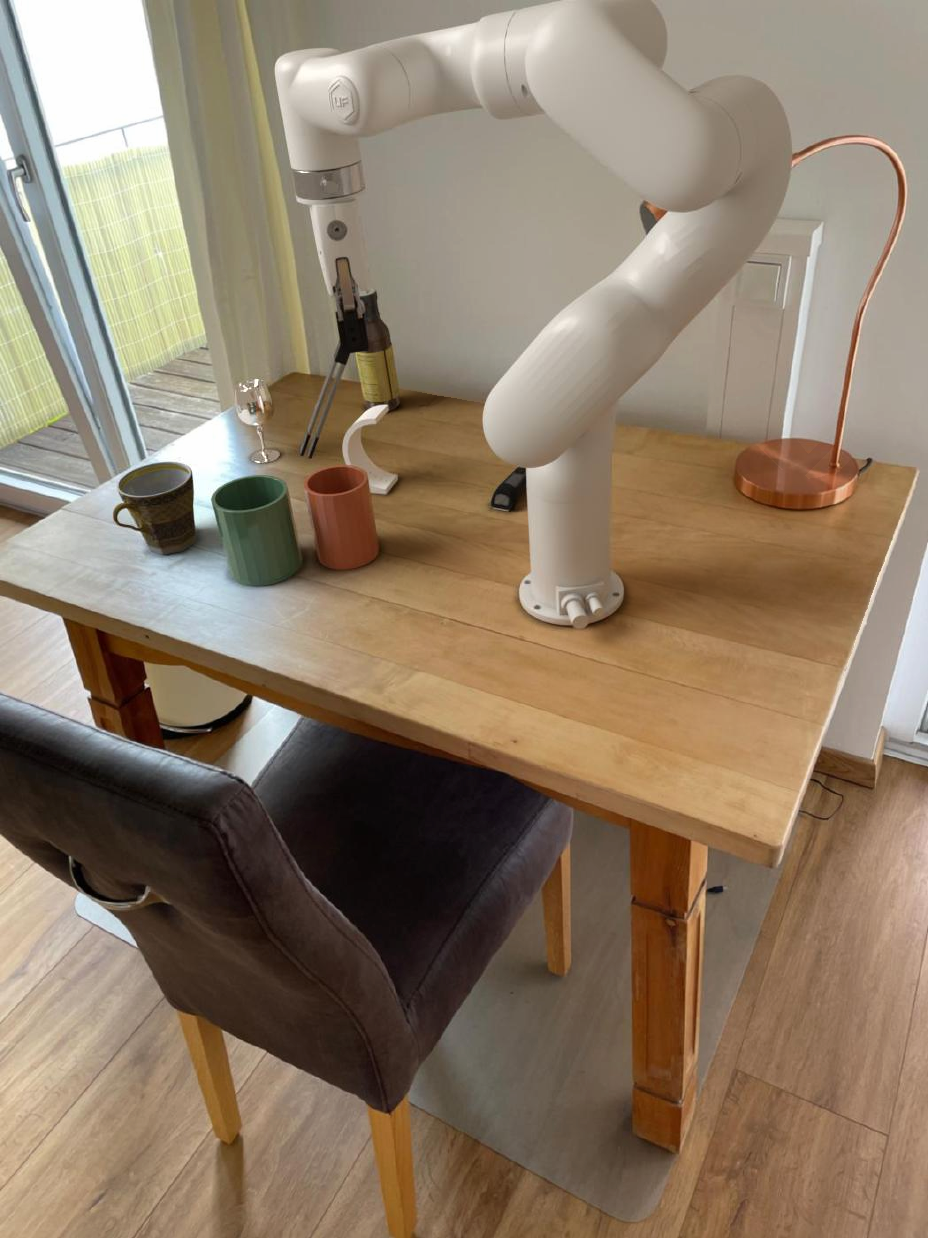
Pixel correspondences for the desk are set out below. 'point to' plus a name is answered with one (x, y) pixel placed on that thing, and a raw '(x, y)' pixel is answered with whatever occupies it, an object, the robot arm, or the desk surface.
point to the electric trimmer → (509, 490)
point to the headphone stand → (357, 456)
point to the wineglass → (256, 412)
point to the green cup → (257, 529)
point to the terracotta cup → (342, 516)
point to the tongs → (342, 360)
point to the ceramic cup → (160, 505)
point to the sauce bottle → (377, 359)
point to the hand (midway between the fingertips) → (354, 346)
